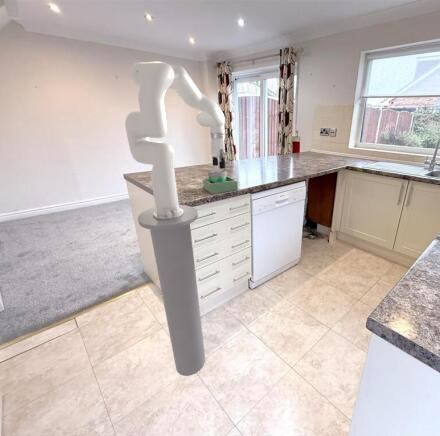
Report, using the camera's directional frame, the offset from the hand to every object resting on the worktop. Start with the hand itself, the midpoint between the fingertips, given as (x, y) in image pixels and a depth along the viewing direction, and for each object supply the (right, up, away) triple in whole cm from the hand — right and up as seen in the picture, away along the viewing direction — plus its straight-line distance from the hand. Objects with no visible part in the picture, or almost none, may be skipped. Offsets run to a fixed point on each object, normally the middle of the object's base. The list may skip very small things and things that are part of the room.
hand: (218, 166), depth 143 cm
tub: (0, -12, +6) cm, 14 cm away
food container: (0, -12, +5) cm, 13 cm away
